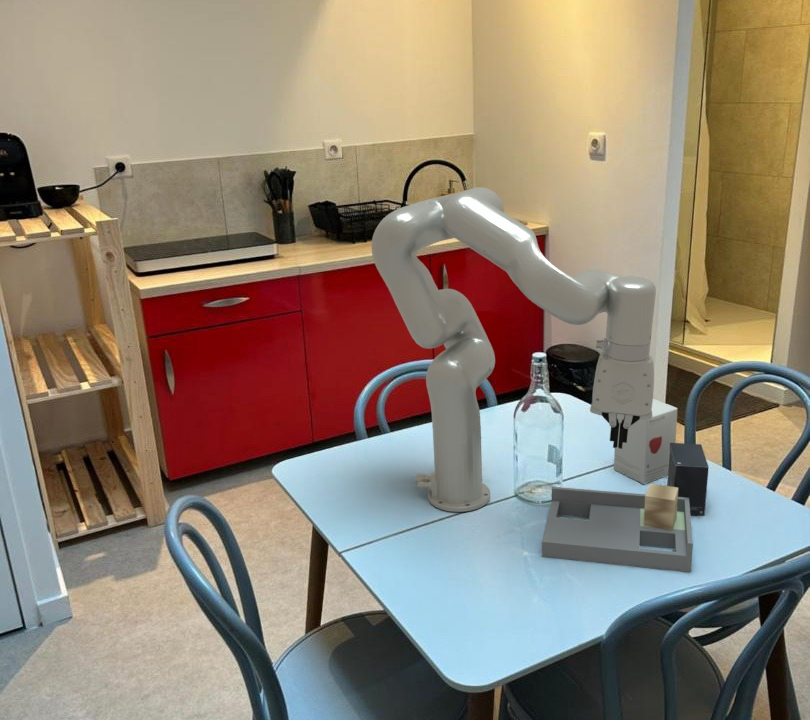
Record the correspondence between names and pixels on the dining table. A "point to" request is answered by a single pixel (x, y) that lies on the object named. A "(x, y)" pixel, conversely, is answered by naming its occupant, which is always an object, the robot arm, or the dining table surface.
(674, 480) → the small box
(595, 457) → the dining table surface
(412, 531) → the dining table surface
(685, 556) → the tray
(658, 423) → the supplement box
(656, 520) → the beech block
